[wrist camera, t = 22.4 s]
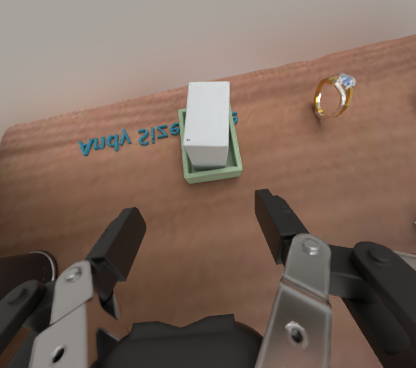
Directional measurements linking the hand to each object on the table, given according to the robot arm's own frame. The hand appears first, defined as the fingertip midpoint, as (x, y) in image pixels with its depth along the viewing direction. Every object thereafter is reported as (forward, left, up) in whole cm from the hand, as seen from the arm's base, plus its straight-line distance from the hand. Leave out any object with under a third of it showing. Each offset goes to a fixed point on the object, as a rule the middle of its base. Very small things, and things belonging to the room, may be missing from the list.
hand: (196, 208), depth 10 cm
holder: (+1, +14, -19) cm, 23 cm away
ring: (+24, +18, -19) cm, 36 cm away
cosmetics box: (+2, +14, -18) cm, 23 cm away
